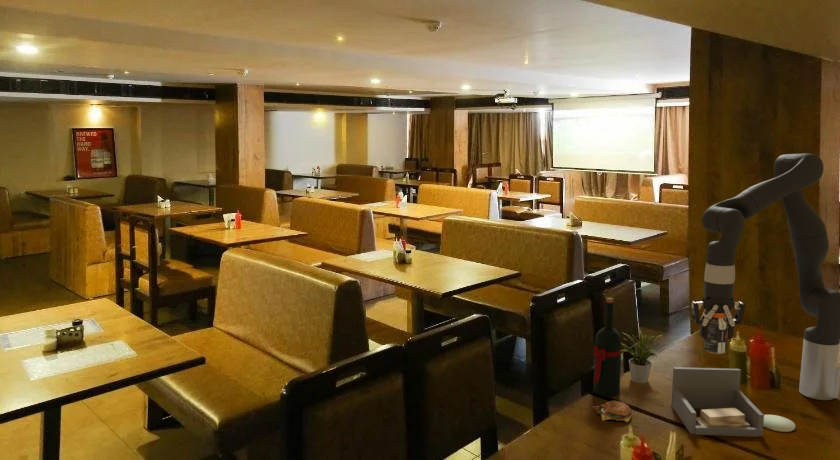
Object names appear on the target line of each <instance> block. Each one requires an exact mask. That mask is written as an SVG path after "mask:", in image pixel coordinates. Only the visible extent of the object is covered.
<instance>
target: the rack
mask: <svg viewBox="0 0 840 460" xmlns="http://www.w3.org/2000/svg"><path fill="white" fill-rule="evenodd" d="M741 372H742V370H741V369H740V368H728V367H727V368H722V367H721V368H717V367H685V366H684V367H679V366H677V367H676V366H674V367H673V369H672V386H671V388H672V389H671V407H672V409H673V410H674V412H675V414H676V415H677V416H678V418H679V419H680V421H681V423H682V424H683V425H684V426H685V428H686V430H687V431H688V432H689V434H691V435H699V436H700V435H701V436H723V437H725V436H726V437H727V436H728V437H751V438H752V437H754V438H755V437H763V433H764V427H763V422H764V415H765V414H763V412H761V410H760V409H759V408H758V407H757V406H756V405H755V404H754V403H753V402H752V401H751V400H750V399H749V398H748V397H747V396H746V395H745V394H744V393H743V392H742V391H741V389H740V388H741V374H742V373H741ZM720 408H736V409H738V410H739V411H740V412H742V413H743V414H744V415H745V421H746V422H747V423H749V424H750V427H725V426H696V417H697V412H696V410H695V409H701V410H705V409H720Z"/></svg>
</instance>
